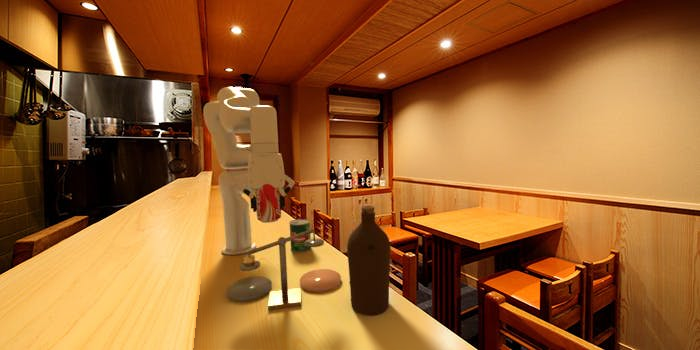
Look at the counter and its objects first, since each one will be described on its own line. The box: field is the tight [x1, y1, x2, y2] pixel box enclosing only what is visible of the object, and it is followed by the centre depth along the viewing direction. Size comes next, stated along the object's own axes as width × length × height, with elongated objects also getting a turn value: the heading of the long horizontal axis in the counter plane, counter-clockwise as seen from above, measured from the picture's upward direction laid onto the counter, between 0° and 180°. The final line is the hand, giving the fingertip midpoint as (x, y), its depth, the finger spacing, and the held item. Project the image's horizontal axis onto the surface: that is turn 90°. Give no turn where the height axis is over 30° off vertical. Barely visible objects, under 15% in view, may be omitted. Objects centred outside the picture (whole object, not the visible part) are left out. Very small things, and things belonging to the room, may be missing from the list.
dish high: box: [299, 268, 342, 293], centre depth 83 cm, size 12×12×1 cm
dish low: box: [225, 276, 273, 303], centre depth 79 cm, size 12×12×1 cm
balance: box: [238, 228, 325, 311], centre depth 73 cm, size 7×21×19 cm, turn 101°
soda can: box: [255, 182, 282, 224], centre depth 83 cm, size 7×7×12 cm
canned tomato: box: [289, 218, 312, 253], centre depth 110 cm, size 8×8×11 cm
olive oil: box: [346, 205, 391, 316], centre depth 69 cm, size 11×11×25 cm
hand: (268, 209), depth 84 cm, fingers closed on soda can, 7 cm apart
